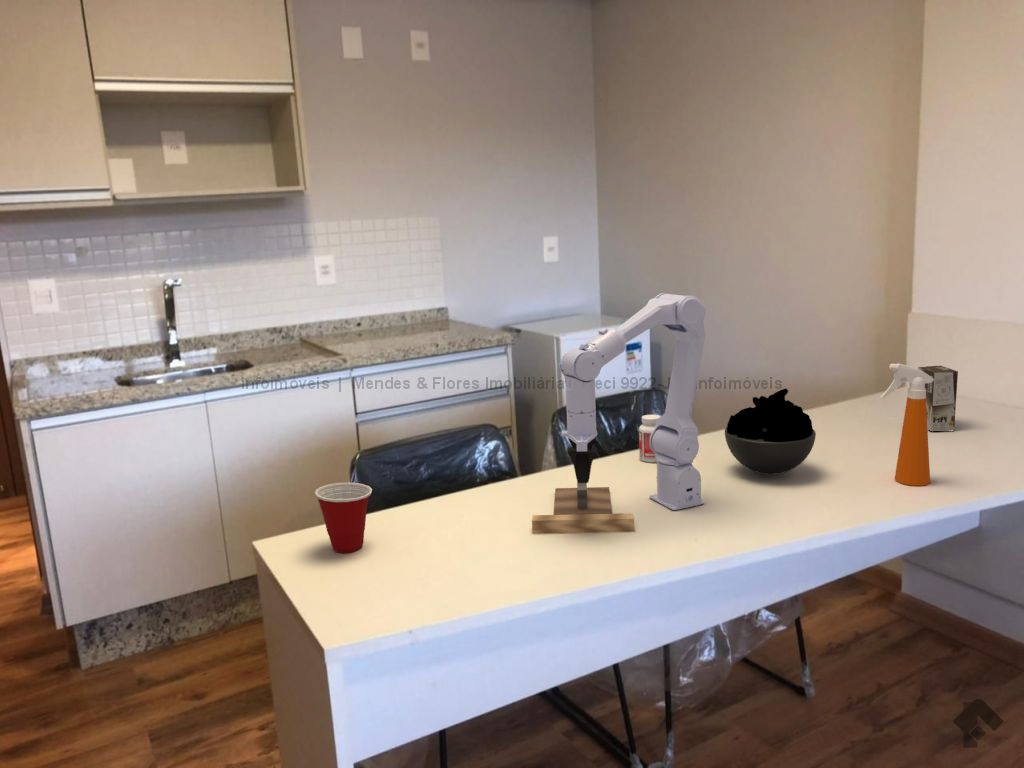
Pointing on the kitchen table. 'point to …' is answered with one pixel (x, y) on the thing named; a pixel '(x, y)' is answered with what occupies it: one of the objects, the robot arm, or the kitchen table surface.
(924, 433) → the spray bottle
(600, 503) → the ridge stand
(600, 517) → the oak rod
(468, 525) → the kitchen table surface
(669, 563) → the kitchen table surface
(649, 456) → the pill bottle
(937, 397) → the coffee box
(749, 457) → the bowl of black rocks
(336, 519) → the plastic cup
